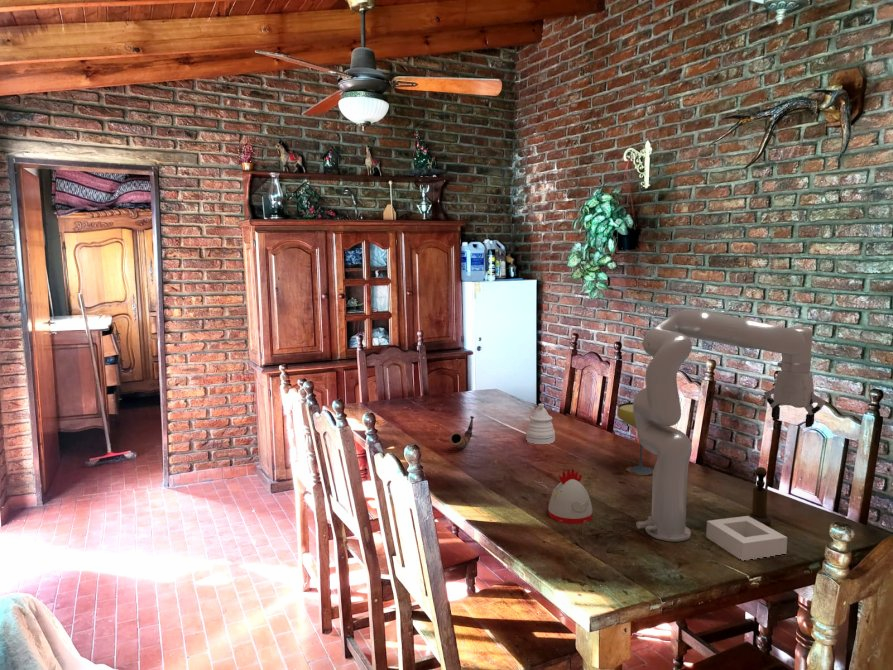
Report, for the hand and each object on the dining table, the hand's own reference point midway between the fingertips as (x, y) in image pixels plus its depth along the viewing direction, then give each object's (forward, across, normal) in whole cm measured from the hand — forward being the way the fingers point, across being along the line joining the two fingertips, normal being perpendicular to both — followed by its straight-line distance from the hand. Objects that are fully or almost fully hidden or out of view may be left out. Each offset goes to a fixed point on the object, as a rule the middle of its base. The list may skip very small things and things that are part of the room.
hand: (791, 423), depth 189 cm
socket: (+31, +2, -28) cm, 42 cm away
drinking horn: (+32, -124, -29) cm, 131 cm away
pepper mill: (+31, -3, -11) cm, 33 cm away
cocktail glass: (+31, -55, +2) cm, 63 cm away
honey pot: (+31, -106, 0) cm, 110 cm away
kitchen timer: (+32, -44, -50) cm, 74 cm away
